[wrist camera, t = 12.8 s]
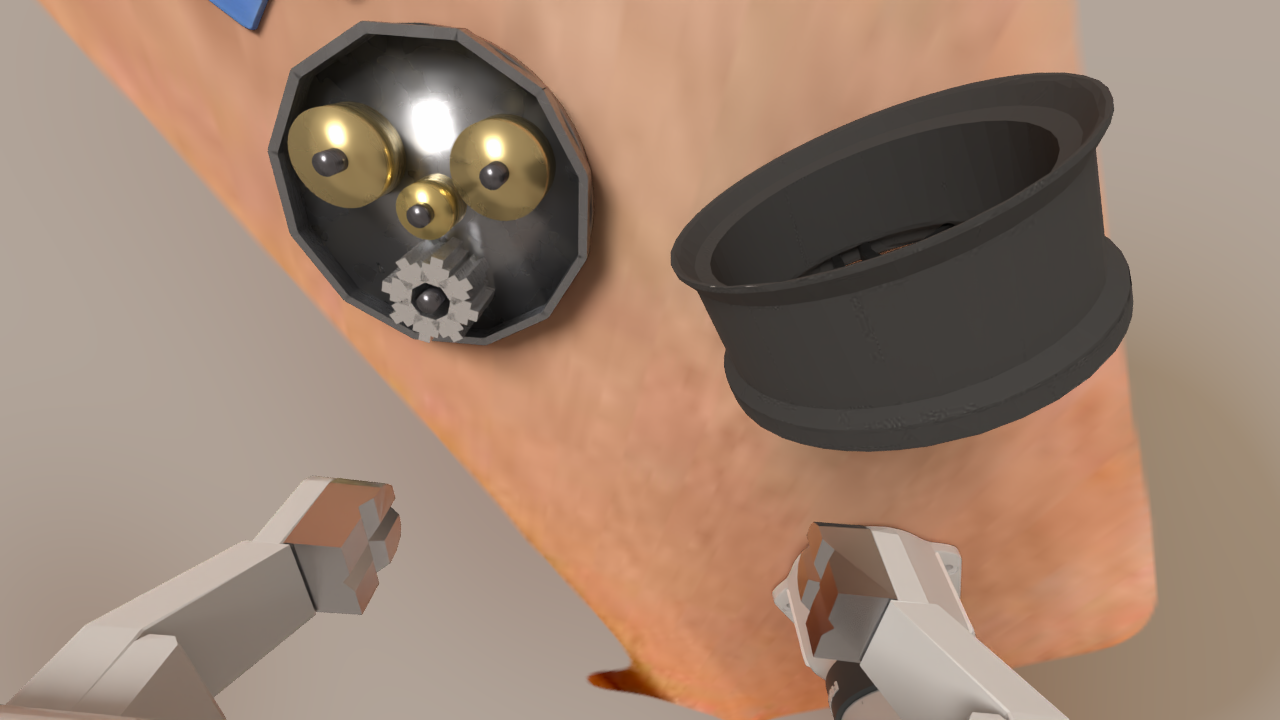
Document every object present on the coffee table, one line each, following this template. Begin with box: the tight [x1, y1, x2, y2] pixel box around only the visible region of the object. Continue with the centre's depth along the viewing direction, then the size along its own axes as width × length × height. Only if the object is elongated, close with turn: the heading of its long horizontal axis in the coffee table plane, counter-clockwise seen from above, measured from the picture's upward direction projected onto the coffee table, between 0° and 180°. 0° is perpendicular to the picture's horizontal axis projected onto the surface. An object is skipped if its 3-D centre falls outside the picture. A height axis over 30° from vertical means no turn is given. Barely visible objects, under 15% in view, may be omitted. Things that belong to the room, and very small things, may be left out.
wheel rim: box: [671, 73, 1133, 452], centre depth 29 cm, size 20×9×20 cm, turn 117°
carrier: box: [268, 21, 594, 345], centre depth 37 cm, size 21×21×6 cm
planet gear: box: [382, 237, 495, 343], centre depth 39 cm, size 7×7×4 cm
